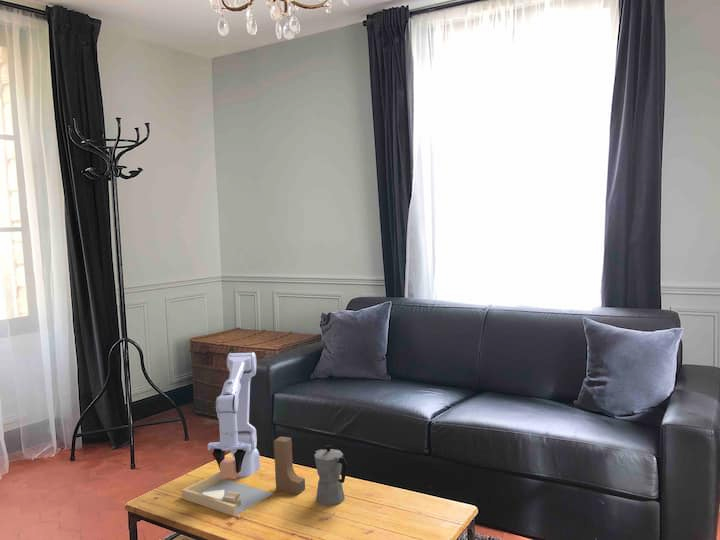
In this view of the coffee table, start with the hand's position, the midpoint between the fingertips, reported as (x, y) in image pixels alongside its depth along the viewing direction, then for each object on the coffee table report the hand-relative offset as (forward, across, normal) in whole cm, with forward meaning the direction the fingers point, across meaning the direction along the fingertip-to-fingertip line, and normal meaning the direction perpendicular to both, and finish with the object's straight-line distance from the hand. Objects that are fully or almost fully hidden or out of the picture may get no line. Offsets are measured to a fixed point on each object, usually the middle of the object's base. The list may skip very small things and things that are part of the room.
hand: (230, 471), depth 195 cm
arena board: (+9, -1, -1) cm, 9 cm away
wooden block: (+9, +18, +6) cm, 21 cm away
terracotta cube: (+1, 0, 0) cm, 1 cm away
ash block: (+8, +4, -8) cm, 12 cm away
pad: (+8, -6, -1) cm, 10 cm away
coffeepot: (+9, +34, +2) cm, 35 cm away
